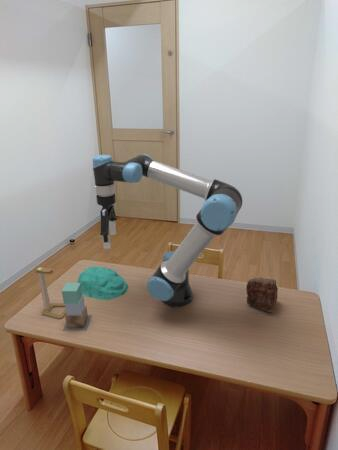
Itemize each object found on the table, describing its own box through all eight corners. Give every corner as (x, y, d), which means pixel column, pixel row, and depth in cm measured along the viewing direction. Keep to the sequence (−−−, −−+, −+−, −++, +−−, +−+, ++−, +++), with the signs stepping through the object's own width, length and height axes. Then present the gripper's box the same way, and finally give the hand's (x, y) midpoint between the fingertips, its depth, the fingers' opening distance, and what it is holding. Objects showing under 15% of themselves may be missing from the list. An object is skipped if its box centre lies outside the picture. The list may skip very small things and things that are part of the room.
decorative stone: (91, 272, 182) (89, 256, 178) (135, 283, 171) (134, 266, 167) (66, 293, 165) (63, 275, 161) (113, 306, 154) (111, 288, 150)
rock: (244, 313, 147) (246, 284, 141) (245, 297, 157) (247, 270, 151) (277, 317, 144) (281, 288, 138) (276, 301, 154) (279, 273, 148)
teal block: (82, 295, 141) (80, 282, 138) (78, 303, 135) (76, 291, 133) (68, 294, 141) (66, 282, 139) (63, 303, 135) (61, 291, 133)
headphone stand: (62, 320, 145) (54, 277, 136) (39, 317, 147) (29, 274, 138) (73, 305, 154) (66, 264, 146) (51, 303, 157) (43, 262, 148)
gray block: (84, 306, 143) (83, 294, 141) (81, 315, 138) (79, 303, 135) (71, 306, 143) (69, 295, 141) (66, 315, 138) (64, 303, 135)
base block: (88, 317, 146) (86, 305, 144) (83, 328, 139) (82, 316, 137) (72, 317, 146) (70, 305, 144) (67, 328, 140) (65, 316, 137)
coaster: (92, 316, 147) (92, 315, 147) (86, 331, 138) (86, 330, 138) (69, 315, 148) (69, 315, 148) (62, 331, 139) (62, 330, 138)
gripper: (102, 185, 147) (107, 229, 155) (88, 204, 124) (95, 255, 132) (119, 185, 147) (123, 229, 155) (108, 204, 124) (113, 254, 132)
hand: (110, 241), depth 144 cm, fingers open, 13 cm apart
